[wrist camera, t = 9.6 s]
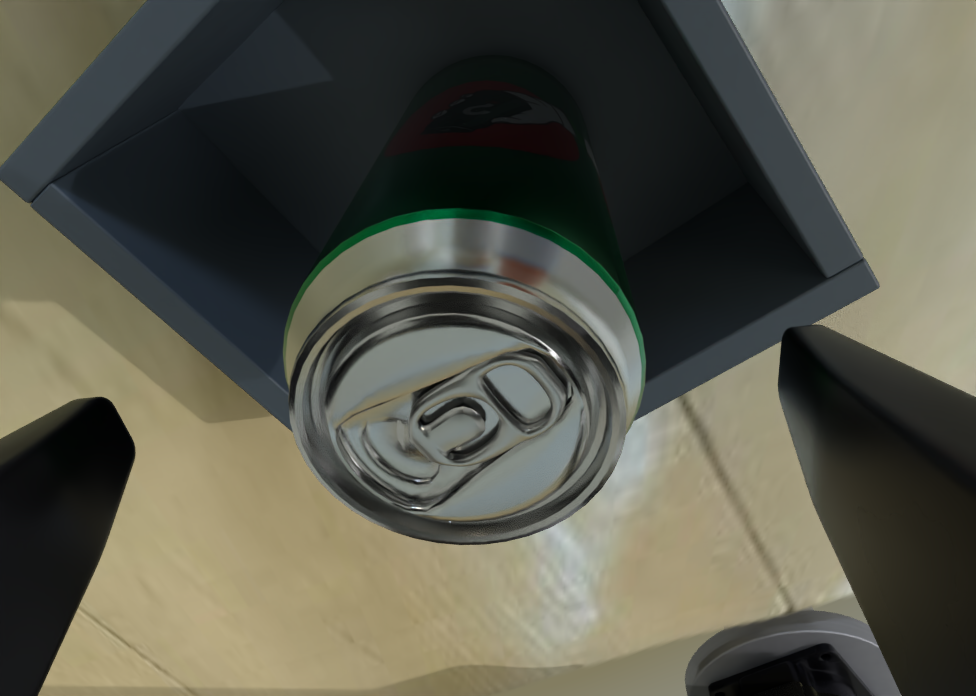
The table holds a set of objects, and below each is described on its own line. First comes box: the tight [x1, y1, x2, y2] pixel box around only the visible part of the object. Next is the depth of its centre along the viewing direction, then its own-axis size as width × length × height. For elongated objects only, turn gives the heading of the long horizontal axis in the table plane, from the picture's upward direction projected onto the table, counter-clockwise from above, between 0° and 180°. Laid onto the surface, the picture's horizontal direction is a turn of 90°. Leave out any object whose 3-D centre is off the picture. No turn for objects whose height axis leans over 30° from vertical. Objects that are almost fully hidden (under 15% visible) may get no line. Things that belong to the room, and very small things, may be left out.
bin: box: [0, 0, 880, 432], centre depth 17 cm, size 13×13×6 cm
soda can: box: [283, 55, 646, 545], centre depth 14 cm, size 5×5×12 cm
